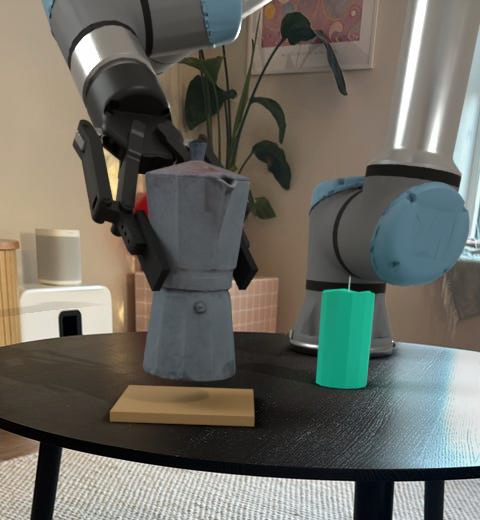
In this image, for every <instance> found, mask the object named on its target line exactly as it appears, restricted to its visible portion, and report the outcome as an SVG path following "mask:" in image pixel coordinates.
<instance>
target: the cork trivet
mask: <svg viewBox="0 0 480 520" xmlns="http://www.w3.org/2000/svg"><path fill="white" fill-rule="evenodd" d="M254 397H255V396H254V389H253V388H225V387H197V386H171V385H169V386H167V385H140V384H139V385H138V384H129V385H128V386H127V388H126V389H125V390H124V391H123V393H122V394H121V396H120V397H119V398H118V400H117V401H116V403H115V404H114V405H113V406H112V408H111V409H110V411H109V422H111V423H137V424H160V425H161V424H163V425H165V424H166V425H190V426H191V425H192V426H193V425H194V426H195V425H197V426H218V427H219V426H221V427H222V426H223V427H249V428H251V427H253V428H254V427H255V398H254Z"/></svg>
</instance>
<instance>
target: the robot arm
mask: <svg viewBox="0 0 480 520" xmlns="http://www.w3.org/2000/svg"><path fill="white" fill-rule="evenodd" d="M270 2H273V0H41V3H42V7H43V10H44V13H45V16H46V19H47V23H48V25H49V28H50V33H51V35H52V37H53V39H54V40H55V42H56V45H57V46H58V48H59V50H60V53H61V54H62V57H63V59H64V61H65V63H66V65H67V67H68V70H69V72H70V74H71V76H72V80H73V82H74V84H75V86H76V89H77V91H78V93H79V96H80V98H81V101H82V103H83V105H84V107H85V109H86V112H87V115H88V117H89V120H90V121H89V120H88V119H84V118H83V119H80V120H79V121H78V124H77V128H76V131H75V135H74V138H73V141H72V147H73V149H74V151H75V152H76V154H77V156H78V157H79V159H80V161H81V167H82V172H83V176H84V183H85V188H86V194H87V199H88V207H89V211H90V217H91V220H92V221H93V222H94V223H96V224H98V225H103V224H105V222H107V223H110V224H111V226H110V230H109V231H110V233H111V234H112V235H113V236H114V237H118V238H121V239H122V241H123V244H124V245H125V248H126V250H127V252H128V253H129V254H130V255H131V256H136V257H137V260H138V262H139V265H140V266H141V269H142V271H143V274H144V276H145V279H146V281H147V284H148V285H149V288H150V290H151V292H153V291H160V290H161V288H162V286H163V284H164V282H165V280H166V278H167V276H168V274H169V272H170V270H171V269H170V267H169V265H168V262H167V260H166V258H165V255H164V253H163V251H162V249H161V246H160V244H159V242H158V240H157V237H156V235H155V233H154V231H153V228H152V226H151V224H150V222H149V216H148V215H147V212H146V210H145V209H136V210H135V207H136V199H137V198H136V197H137V188H138V187H137V186H138V180H139V179H138V177H139V175H145V174H146V172H150V171H153V170H157V169H161V166H165V167H169V166H173V165H177V164H181V163H185V162H188V161H190V160H191V155H190V149H189V142H191V141H193V140H194V139H191V138H188V137H184V135H183V133H182V132H181V131H180V130H179V129H178V128H177V126H175V124H174V123H173V118H172V112H171V111H172V110H171V104H170V102H169V100H168V97H167V95H166V93H165V91H164V89H163V87H162V84H161V82H160V80H159V78H158V77H157V76H160V75H162V74H163V73H165V72H167V71H168V70H169V69H171V68H172V67H173V66H174V65H175V64H177V63H179V62H180V61H182V60H183V59H185V58H186V57H188V56H190V55H191V54H192V53H194V52H197V51H201V50H206V49H210V50H215V49H216V48H217V47H221V46H225V45H230V44H232V43H233V42H235V41H236V39H237V38H238V37H239V34H240V32H241V28H242V22H243V20H244V19H246V18H247V17H249V16H250V15H251V14H253V13H255V12H256V11H258V10H260V9H261V8H263V7H264V6H266V5H267V4H269V3H270ZM406 6H407V7H406V11H405V17H404V22H403V28H402V34H401V41H400V46H399V51H398V58H397V62H396V63H397V64H396V68H395V73H394V74H395V75H394V81H393V85H392V91H391V98H390V103H389V108H388V114H387V121H386V127H385V133H384V137H383V144H382V148H381V150H380V152H379V153H378V154H377V155H375V156H374V157H373V158H372V159H371V160H369V162H367V164H366V169H365V174H364V175H354V176H353V175H352V176H346V177H336V178H331V179H327V180H324V181H322V182H320V183H318V184H317V185H316V186H315V187H314V189H313V190H312V194H311V199H310V206H309V209H308V218H309V219H308V220H309V222H308V241H307V256H306V257H307V258H306V259H307V260H306V274H305V276H306V277H305V290H304V297H303V300H302V303H301V306H300V308H299V311H298V314H297V317H296V319H295V321H294V324H293V327H292V328H290V330H289V335H288V337H289V348H290V349H291V350H292V351H295V352H298V353H301V354H302V353H303V354H306V355H307V354H308V355H313V356H318V344H319V330H320V316H321V301H322V292H323V291H324V290H332V289H348V288H349V277H351V279H350V290H352V291H356V292H364V291H370V292H372V293H374V294H375V301H374V312H373V322H372V333H371V343H370V354H369V358H380V357H386V356H390V355H391V354H392V353H393V351H394V350H393V348H395V347H396V343H395V342H394V337H393V336H394V335H393V331H392V327H391V326H392V325H391V322H390V317H389V312H388V308H387V307H388V306H387V302H386V293H387V284H388V285H391V286H398V287H410V286H415V287H416V286H425V285H428V284H431V283H434V282H435V281H437V280H439V279H440V278H441V277H443V276H444V275H445V274H446V273H447V272H449V271H450V270H451V269H452V268H453V267H454V266H455V265H456V263H457V262H458V261H459V259H460V257H461V256H462V254H463V252H464V250H465V247H466V245H467V243H468V238H469V233H470V225H471V221H470V212H469V210H468V209H466V206H465V204H466V202H465V199H464V197H463V196H462V195H461V194H460V193H459V192H460V187H461V182H462V176H463V173H462V172H461V171H460V169H459V167H458V166H457V164H456V163H455V160H454V153H455V147H456V145H457V144H456V143H457V139H458V134H459V128H460V125H461V120H462V114H463V110H464V106H465V105H464V104H465V101H466V100H465V99H466V95H467V91H468V90H467V89H468V85H469V79H470V75H471V70H472V66H473V65H472V64H473V60H474V56H475V50H476V45H477V41H478V37H479V31H480V0H407V5H406ZM196 139H198V140H202V141H204V142H206V143H207V146H206V151H205V156H204V162H206V163H209V164H212V165H215V166H218V167H220V168H223V169H226V168H225V166H224V165H223V164H222V162H221V160H220V159H219V157H218V156H217V155H216V153H215V152H214V149H213V146H212V143H211V140H210V137H208V136H207V135H206V134H204V133H199V134H198V136H197V138H196ZM104 150H106V151H107V152H108V153H109V154H111V155H112V156H113V157H114V158H116V159H117V160H118V163H119V164H118V171H117V187H116V194H115V199H114V197H113V193H112V187H111V182H110V177H109V172H108V171H109V170H108V166H107V161H106V157H105V151H104ZM134 210H135V212H134ZM252 210H253V206H252V205H251V204H250V202H249V200H247V206H246V211H245V217H244V223H243V225H244V224H245V223H246V220H247V219H248V217H249V215H250V213H251V212H252ZM250 247H251V242H250V240H249V238H248V236H247V234H246V231H245V230H244V228H243V229H242V235H241V241H240V248H239V254H238V260H237V265H236V268H235V269H234V270H233V277H232V279H233V280H234V282H235V285H236V287H237V289H238V291H246V290H247V289H248V287H249V286H250V284H251V283H252V281H253V279H254V278H255V276H256V275H257V273H258V272H259V270H260V269H259V267H258V266H257V263H256V261H255V259H254V257H253V255H252V253H251V251H250Z"/></svg>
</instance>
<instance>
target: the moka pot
mask: <svg viewBox="0 0 480 520" xmlns="http://www.w3.org/2000/svg"><path fill="white" fill-rule="evenodd" d="M192 140H193V141H191V142H189V149H190V155H191V160H190V161H188V162H185V163H181V164H177V165H176V164H175V165H173V166H169V167H165V166H161V169H157V170H153V171H150V172H146V174H144V182H145V183H144V184H145V192H146V193H145V194H146V205H147V213H148V215H147V217H148V219H149V222H150V224H151V226H152V228H153V231H154V233H155V235H156V237H157V240H158V242H159V244H160V246H161V249H162V251H163V253H164V255H165V258H166V260H167V262H168V265H169V267H170V269H171V270H170V272H169V274H168V276H167V278H166V280H165V282H164V284H163V286H162V288H161V290H160V291H152V298H151V305H150V312H149V313H150V314H149V320H148V327H147V333H146V339H145V340H146V341H145V347H144V355H143V362H142V369H143V370H144V371H145V372H146V373H148V374H150V375H152V376H153V377H157V378H161V379H165V380H171V381H179V382H192V383H202V382H205V383H206V382H207V383H208V382H217V381H224V380H226V379H229V378H232V377H234V376H235V374H236V370H237V365H236V364H237V363H236V353H235V351H236V350H235V338H234V337H235V336H234V325H233V324H234V321H233V310H232V297H231V293H230V291H229V290H230V289H232V288H233V270H234V269H235V268H236V265H237V260H238V254H239V248H240V241H241V235H242V229H243V230H244V224H245V222H244V217H245V211H246V206H247V201H249V200H248V199H249V194H250V188H251V179H250V177H248V176H245V175H242V174H240V173H238V172H234V171H231V170H229V169H226V168H225V169H223V168H220V167H218V166H215V165H212V164H209V163H206V162H204V156H205V151H206V146H207V143H206V142H204V141H202V140H198V139H197V138H196V139H192ZM243 223H244V224H243Z"/></svg>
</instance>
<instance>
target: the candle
mask: <svg viewBox="0 0 480 520" xmlns="http://www.w3.org/2000/svg"><path fill="white" fill-rule="evenodd" d="M350 279H351V277H349V288H348V289H332V290H324V291H323V292H322V301H321V316H320V330H319V344H318V355H317V359H316V373H315V383H316V384H318V385H319V386H322V387H327V388H332V389H333V388H334V389H344V390H345V389H346V390H347V389H348V390H349V389H361V388H362V389H363V388H366V386H367V384H368V374H369V364H370V357H369V354H370V343H371V333H372V322H373V312H374V301H375V294H374V293H372V292H370V291H364V292H356V291H352V290H350Z"/></svg>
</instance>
